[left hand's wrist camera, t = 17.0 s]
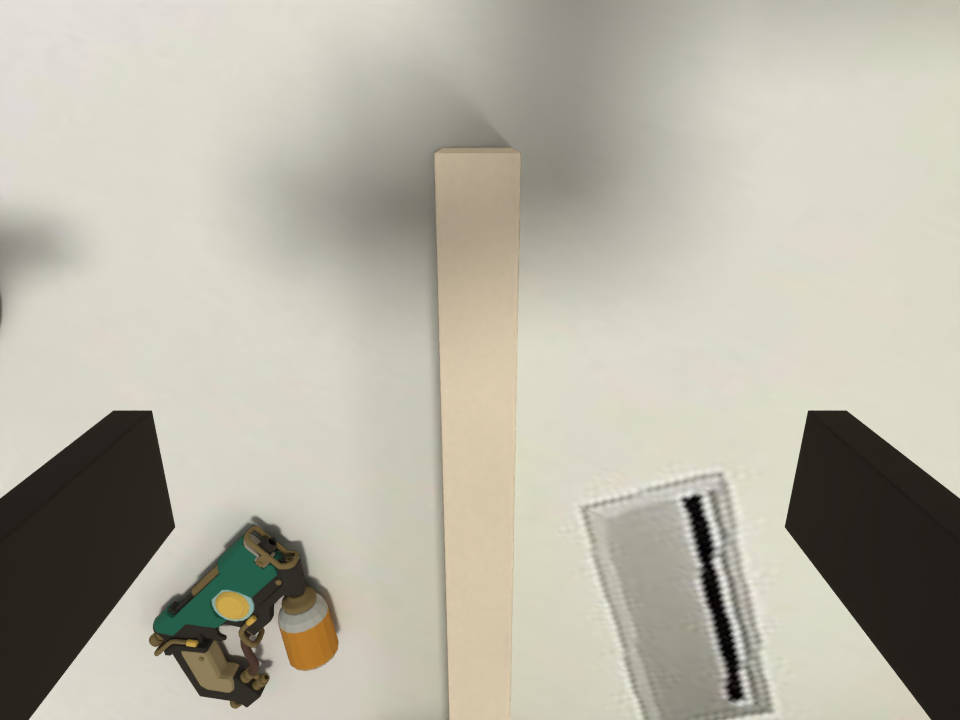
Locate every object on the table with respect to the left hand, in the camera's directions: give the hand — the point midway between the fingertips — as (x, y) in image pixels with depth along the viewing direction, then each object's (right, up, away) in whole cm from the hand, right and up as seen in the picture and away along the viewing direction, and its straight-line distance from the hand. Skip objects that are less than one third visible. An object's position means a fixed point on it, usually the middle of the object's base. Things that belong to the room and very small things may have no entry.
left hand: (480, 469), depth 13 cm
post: (0, -10, +39) cm, 40 cm away
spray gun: (-20, -20, +42) cm, 51 cm away
